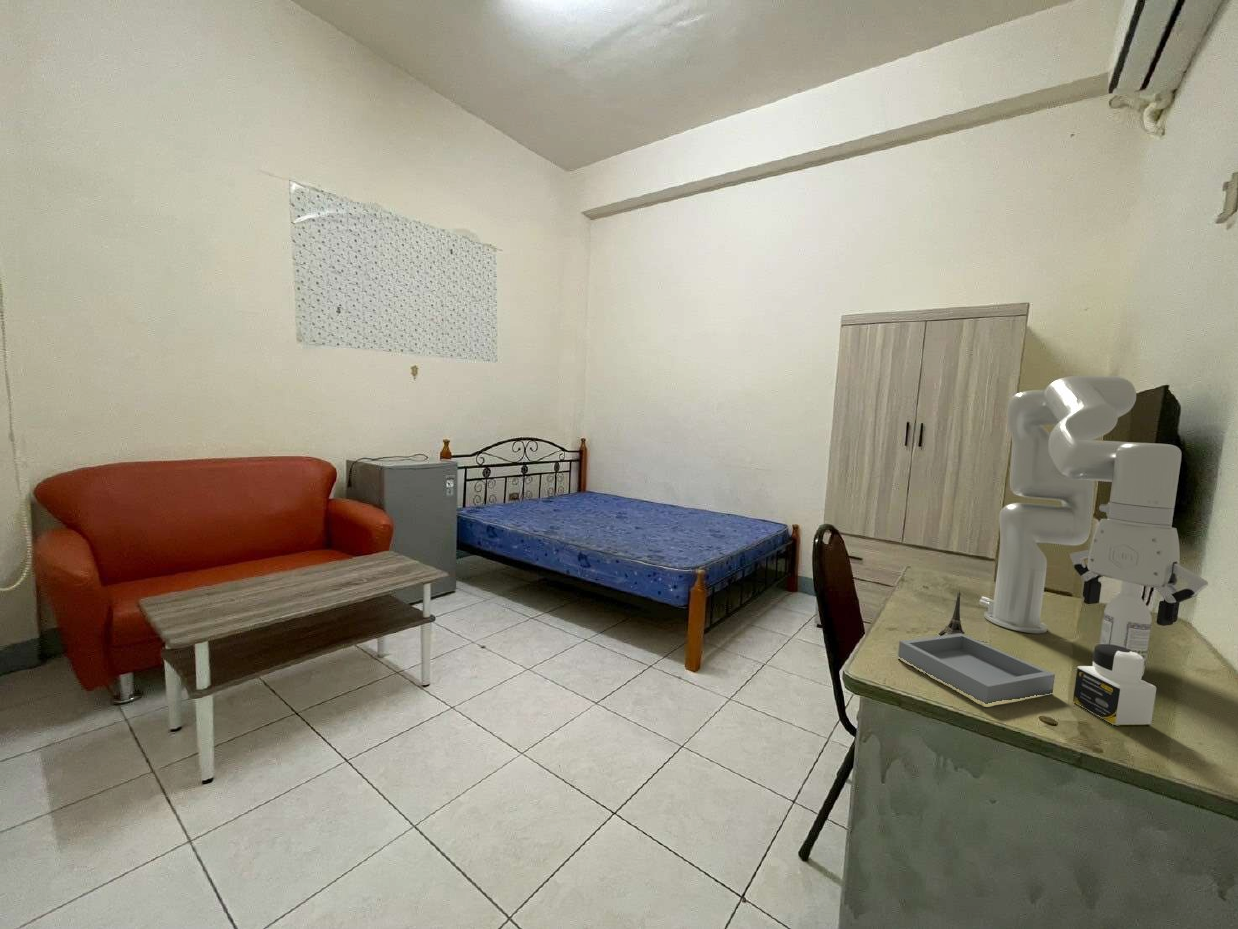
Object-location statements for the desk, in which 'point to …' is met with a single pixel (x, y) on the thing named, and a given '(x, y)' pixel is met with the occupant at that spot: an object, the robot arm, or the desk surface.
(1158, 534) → the robot arm
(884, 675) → the desk surface
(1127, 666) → the medicine bottle
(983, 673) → the tray
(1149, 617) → the bath foam
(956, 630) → the eiffel tower figurine
